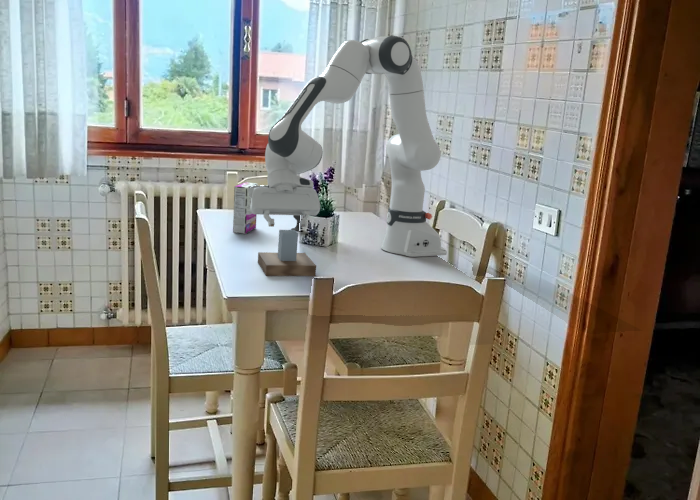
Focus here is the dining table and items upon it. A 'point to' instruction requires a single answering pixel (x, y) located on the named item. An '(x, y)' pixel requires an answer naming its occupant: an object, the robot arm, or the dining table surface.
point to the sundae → (297, 222)
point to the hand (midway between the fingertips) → (287, 225)
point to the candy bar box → (243, 209)
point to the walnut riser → (286, 265)
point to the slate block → (287, 245)
